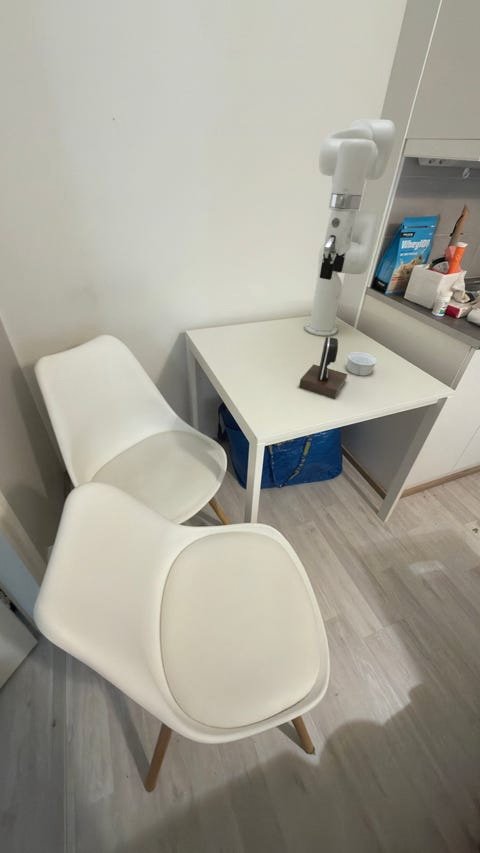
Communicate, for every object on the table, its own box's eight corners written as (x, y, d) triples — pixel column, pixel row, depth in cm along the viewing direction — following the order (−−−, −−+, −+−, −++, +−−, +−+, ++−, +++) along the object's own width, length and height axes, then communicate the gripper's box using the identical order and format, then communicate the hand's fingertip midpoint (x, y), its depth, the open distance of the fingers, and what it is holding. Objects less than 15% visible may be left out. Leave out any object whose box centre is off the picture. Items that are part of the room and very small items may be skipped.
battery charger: (330, 382, 99) (339, 346, 92) (317, 380, 100) (325, 344, 92) (331, 371, 104) (339, 336, 97) (318, 369, 105) (326, 334, 98)
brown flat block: (311, 372, 110) (313, 364, 108) (345, 382, 105) (347, 373, 104) (298, 387, 102) (300, 378, 100) (334, 399, 98) (336, 390, 96)
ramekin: (376, 368, 113) (380, 357, 111) (367, 379, 107) (371, 367, 105) (350, 361, 117) (353, 349, 114) (341, 371, 111) (344, 359, 108)
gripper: (350, 207, 78) (334, 284, 89) (368, 202, 90) (352, 270, 101) (319, 203, 81) (307, 279, 92) (340, 199, 93) (327, 266, 104)
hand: (330, 274), depth 96 cm, fingers open, 9 cm apart
